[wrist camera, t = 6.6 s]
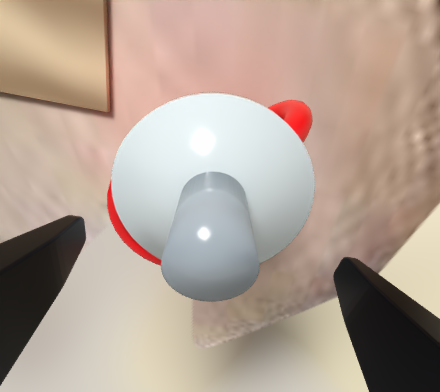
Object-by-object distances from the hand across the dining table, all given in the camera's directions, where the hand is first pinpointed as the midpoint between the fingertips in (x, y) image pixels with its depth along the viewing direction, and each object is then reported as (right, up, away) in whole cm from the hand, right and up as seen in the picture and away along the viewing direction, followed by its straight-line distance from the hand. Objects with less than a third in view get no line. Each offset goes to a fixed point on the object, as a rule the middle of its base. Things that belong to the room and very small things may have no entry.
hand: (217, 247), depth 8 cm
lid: (0, +2, +3) cm, 4 cm away
